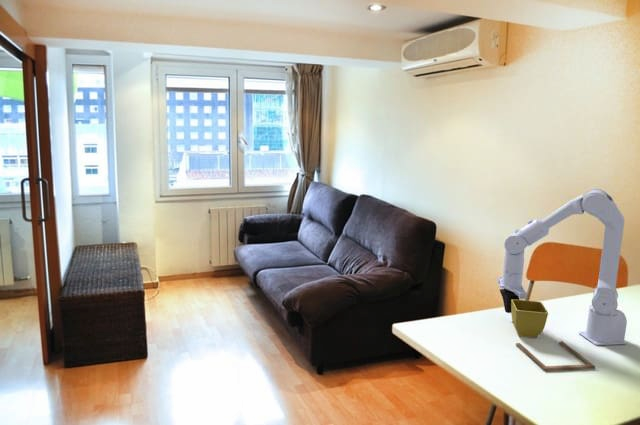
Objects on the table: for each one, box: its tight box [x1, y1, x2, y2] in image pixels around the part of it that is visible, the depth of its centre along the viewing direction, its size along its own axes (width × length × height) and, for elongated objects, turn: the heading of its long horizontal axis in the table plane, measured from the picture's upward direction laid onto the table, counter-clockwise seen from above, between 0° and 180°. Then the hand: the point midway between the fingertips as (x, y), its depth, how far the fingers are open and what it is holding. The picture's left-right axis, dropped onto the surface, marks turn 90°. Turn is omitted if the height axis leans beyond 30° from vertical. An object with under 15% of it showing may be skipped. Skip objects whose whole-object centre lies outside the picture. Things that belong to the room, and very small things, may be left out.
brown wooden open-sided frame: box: [515, 340, 596, 372], centre depth 130 cm, size 14×14×1 cm
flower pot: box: [510, 299, 549, 339], centre depth 143 cm, size 9×9×9 cm
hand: (509, 312), depth 154 cm, fingers closed
